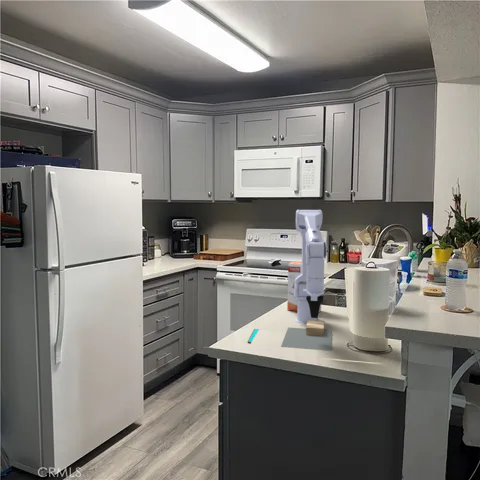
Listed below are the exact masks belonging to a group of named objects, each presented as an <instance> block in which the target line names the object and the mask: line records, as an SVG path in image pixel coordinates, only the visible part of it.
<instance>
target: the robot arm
mask: <svg viewBox="0 0 480 480" xmlns="http://www.w3.org/2000/svg"><path fill="white" fill-rule="evenodd" d="M323 217H324V216H323V211H322V210H321V209H297V210H296V211H295V229H296V231H297V232H299V233H300V236H301V263H302V274H301V275H299V276H298V277H296V279H295V284H294V296H295V297H296V298H298V311H296V312H297V313H296V315H297V316H296V319H295V323H302V324H305V323H306V324H307V321H308V320H316V321H318V317H319V314H320V312H319V309H320V305H321V306H322V303H323V301H324V294H325V259H326V258H327V253H328V251H327V250H328V249H327V243H326V241H325V240H323V236H322V235H323V234H322V232H321V231H320V229H321V228H322V225H323ZM300 281H307V282H300Z"/></svg>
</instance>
